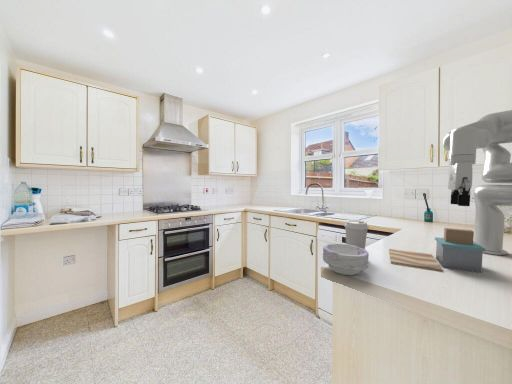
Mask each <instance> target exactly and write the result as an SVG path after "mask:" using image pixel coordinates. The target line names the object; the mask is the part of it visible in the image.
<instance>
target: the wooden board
mask: <svg viewBox="0 0 512 384" xmlns="http://www.w3.org/2000/svg"><path fill="white" fill-rule="evenodd" d="M388 253H389V260H390V264H394V265H399V266H400V265H401V266H408V267H413V268H418V269H424V270H431V271H437V272H438V271H439V272H443V267H442V266H441V265H440V263H439V262H438V261H437V259H436V257H434V255H433V254H432V253H425V252H418V251H410V250H405V249H403V250H402V249H397V248H388Z"/></svg>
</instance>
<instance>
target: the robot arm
mask: <svg viewBox="0 0 512 384" xmlns="http://www.w3.org/2000/svg"><path fill="white" fill-rule="evenodd" d="M511 143H512V109H509V110H504V111H498V112H493V113H489V114H486V115H484V116H482V117H481V118H480V119H478V120H477V121H474V122H472V123H469V124H466V125H463V126H460V127H456V128H454V129H452V130H450V131H448V133H447V134H446V135H445V136H444V137H443V140H442V146H443V148H444V150H446V151H448V152H449V154H448V155H449V156H448V157H449V159H448V166H449V165H450V171H449V178H448V187H447V188H448V189H449V190H451V192H450V202H449V203H450V205H457V206H459V207H470V205H471V189H472V187H473V165H476V162H477V160H476V159H477V150H478V149H482V151H483V153H484V161H483V165H482V166H483V167H482V170H481V171H482V172H481V180H482V181H483V182H485V183H487V184H482V185H478V186H477V187H475V189H474V190H473V197H474V204H475V214H474V215H475V219H474V237H473V241H474V242H475V243H477V244H479V245H480V246H482V247H484V248H485V251H483V254H488V255H497V256H506V255H508V251H507V250H505V249H503V248H504V247H503V246H504V231H505V230H504V228H505V214H504V212H503V211H502V210H501V209H500V208H499V207H500V206H502V207H503V206H504V207H512V162H511V158H512V154H511V152H510V151H509V150H508V149H507V148H505V147H504V146H502V144H511ZM498 206H499V207H498Z"/></svg>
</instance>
